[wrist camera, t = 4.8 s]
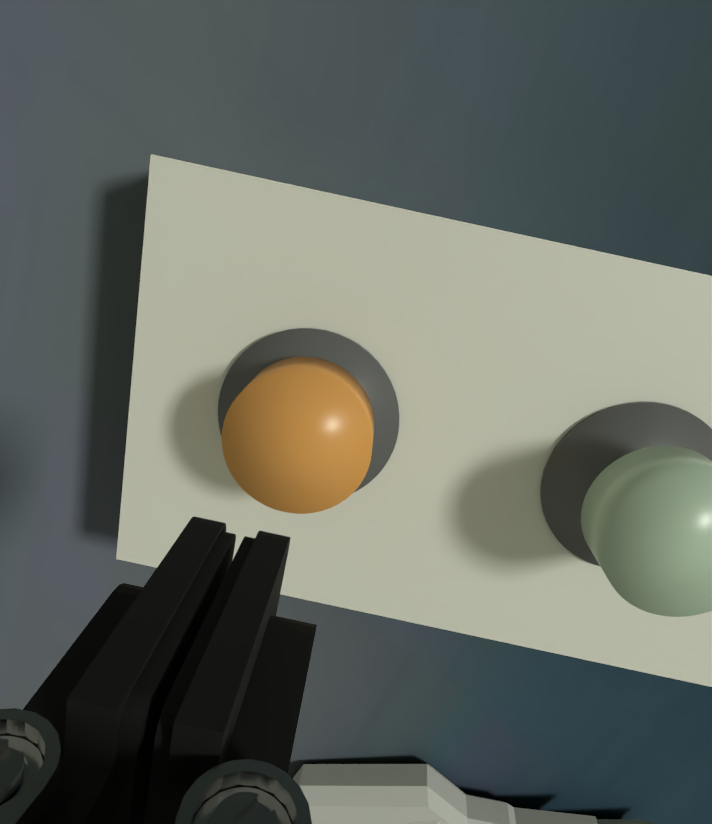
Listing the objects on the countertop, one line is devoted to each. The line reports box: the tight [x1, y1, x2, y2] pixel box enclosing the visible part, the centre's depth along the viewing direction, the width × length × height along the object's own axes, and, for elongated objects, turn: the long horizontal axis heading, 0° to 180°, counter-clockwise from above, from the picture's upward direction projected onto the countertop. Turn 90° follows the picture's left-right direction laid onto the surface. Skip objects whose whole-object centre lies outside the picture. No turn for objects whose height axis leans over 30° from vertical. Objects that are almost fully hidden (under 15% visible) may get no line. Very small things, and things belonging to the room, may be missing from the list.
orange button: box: [222, 356, 374, 514], centre depth 18 cm, size 4×4×2 cm
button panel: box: [116, 154, 712, 687], centre depth 21 cm, size 14×34×3 cm, turn 78°
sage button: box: [581, 446, 712, 617], centre depth 17 cm, size 4×4×2 cm
